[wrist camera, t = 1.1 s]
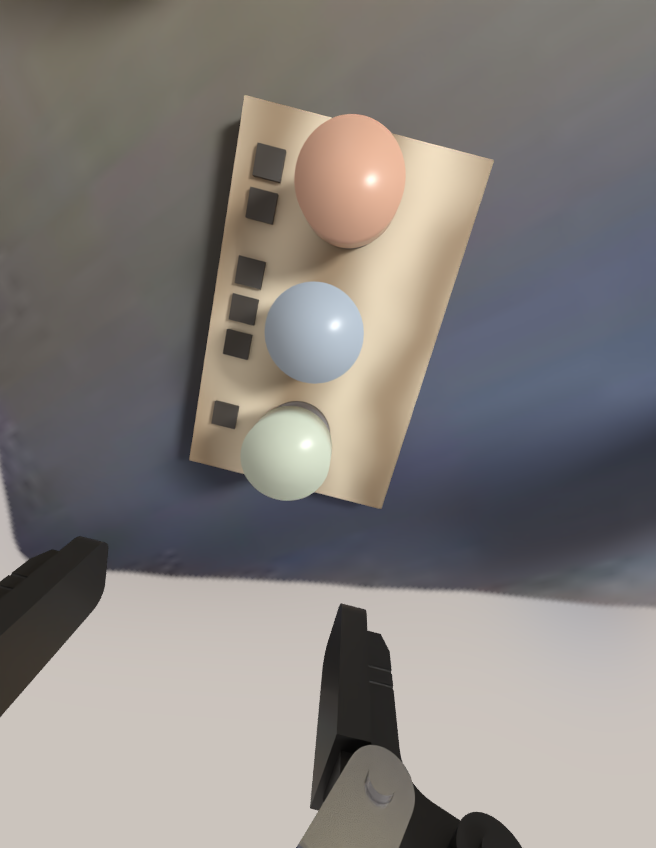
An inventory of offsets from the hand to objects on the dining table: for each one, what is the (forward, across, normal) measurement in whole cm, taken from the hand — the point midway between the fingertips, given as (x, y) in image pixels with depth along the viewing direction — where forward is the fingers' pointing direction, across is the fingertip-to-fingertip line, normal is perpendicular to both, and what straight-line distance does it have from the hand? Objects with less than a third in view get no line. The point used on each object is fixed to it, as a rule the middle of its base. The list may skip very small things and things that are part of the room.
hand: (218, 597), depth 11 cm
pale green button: (+13, 0, 0) cm, 13 cm away
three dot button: (+13, 0, -7) cm, 15 cm away
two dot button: (+13, 0, -14) cm, 19 cm away
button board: (+18, 0, -7) cm, 19 cm away
